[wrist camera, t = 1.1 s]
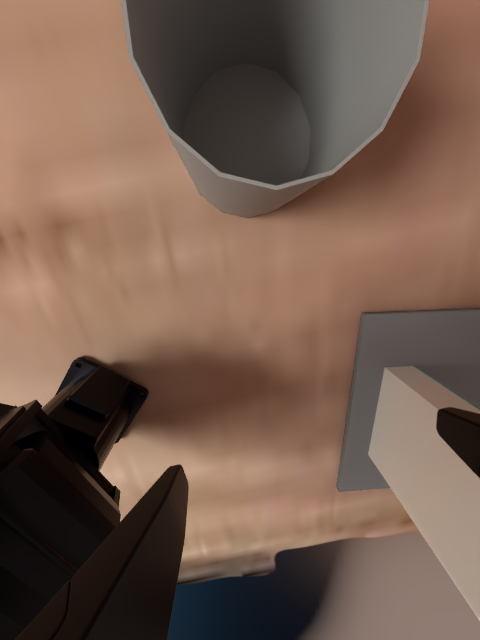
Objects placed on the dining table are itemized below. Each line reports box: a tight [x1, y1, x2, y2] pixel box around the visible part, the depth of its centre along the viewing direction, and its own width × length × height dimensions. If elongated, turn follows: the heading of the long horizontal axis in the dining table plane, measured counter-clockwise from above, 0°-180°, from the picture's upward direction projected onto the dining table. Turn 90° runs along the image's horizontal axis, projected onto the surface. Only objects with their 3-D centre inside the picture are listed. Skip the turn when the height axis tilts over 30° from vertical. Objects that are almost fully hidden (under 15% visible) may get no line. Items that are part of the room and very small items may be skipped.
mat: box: [337, 308, 480, 492], centre depth 23 cm, size 20×20×1 cm
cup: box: [121, 0, 429, 218], centre depth 11 cm, size 8×8×10 cm
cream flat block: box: [368, 366, 480, 621], centre depth 17 cm, size 3×10×12 cm, turn 1°
